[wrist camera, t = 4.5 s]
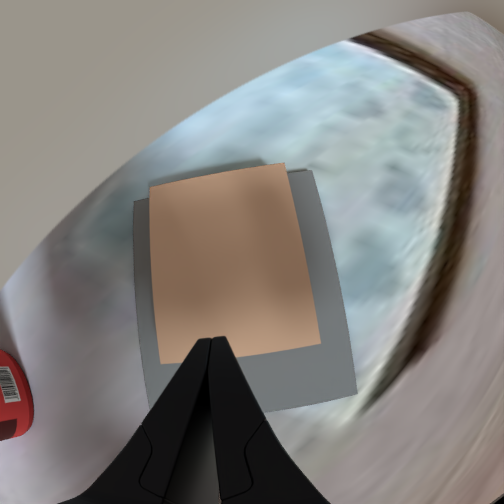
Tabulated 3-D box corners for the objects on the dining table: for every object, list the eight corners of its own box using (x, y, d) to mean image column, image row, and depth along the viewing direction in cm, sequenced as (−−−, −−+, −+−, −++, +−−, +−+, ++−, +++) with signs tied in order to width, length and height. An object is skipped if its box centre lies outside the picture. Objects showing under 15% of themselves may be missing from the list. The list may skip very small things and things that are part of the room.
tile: (320, 343, 13) (284, 162, 16) (160, 364, 13) (149, 187, 16) (314, 342, 15) (283, 180, 18) (173, 361, 15) (160, 201, 18)
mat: (354, 392, 14) (357, 394, 14) (154, 416, 15) (151, 418, 14) (311, 174, 18) (311, 170, 18) (136, 204, 19) (133, 201, 18)
